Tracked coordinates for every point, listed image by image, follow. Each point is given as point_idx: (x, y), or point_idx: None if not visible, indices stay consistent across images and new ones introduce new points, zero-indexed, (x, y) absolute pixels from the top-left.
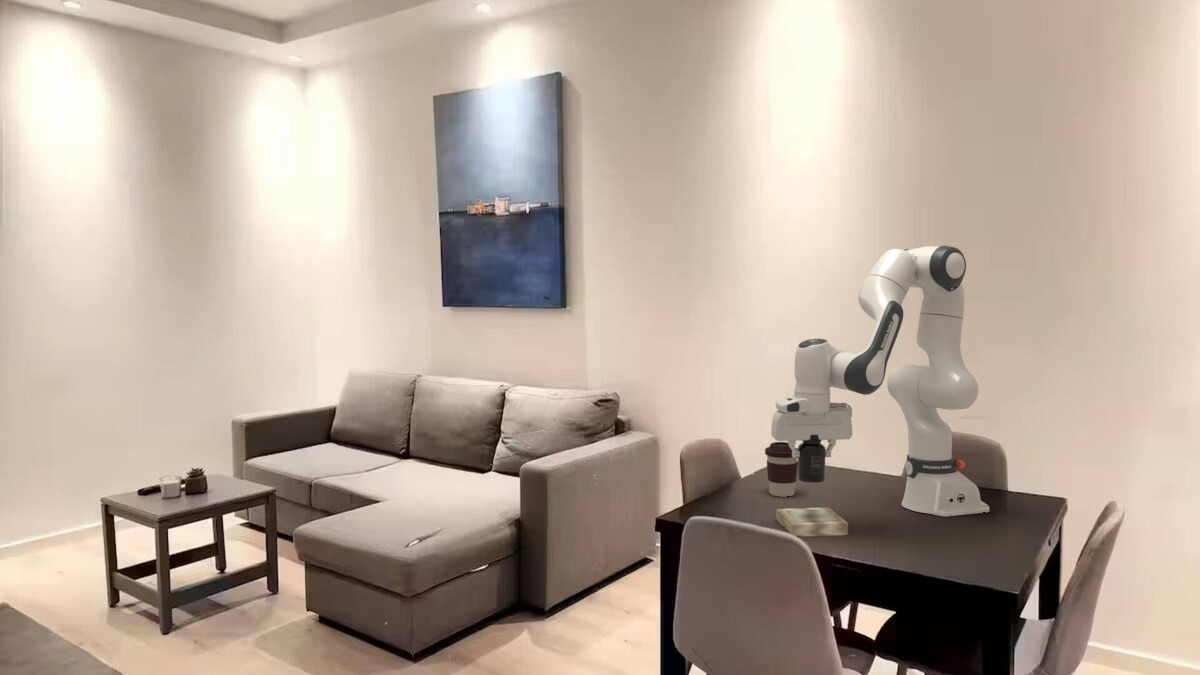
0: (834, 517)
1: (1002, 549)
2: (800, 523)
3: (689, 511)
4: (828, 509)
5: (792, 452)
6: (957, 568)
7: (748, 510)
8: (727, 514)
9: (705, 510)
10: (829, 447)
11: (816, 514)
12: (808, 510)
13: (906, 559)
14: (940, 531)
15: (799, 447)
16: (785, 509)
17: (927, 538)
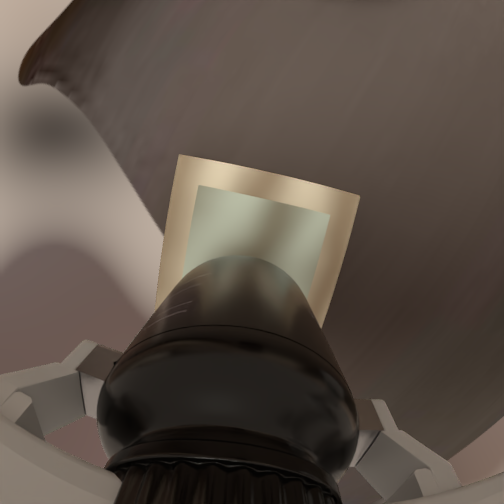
0: (310, 300)
1: (461, 433)
2: None
3: (41, 50)
4: (346, 217)
5: (71, 359)
6: (347, 482)
7: (162, 49)
8: (95, 77)
9: (70, 42)
10: (377, 472)
11: (271, 262)
12: (271, 212)
13: None
14: (478, 356)
15: (98, 431)
16: (205, 168)
17: (431, 387)
